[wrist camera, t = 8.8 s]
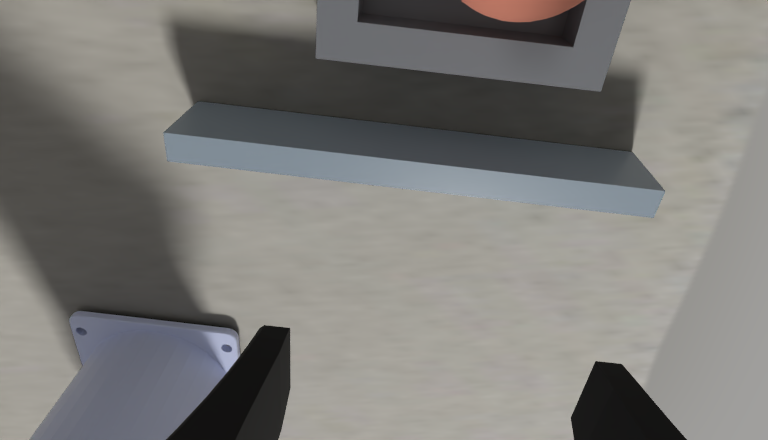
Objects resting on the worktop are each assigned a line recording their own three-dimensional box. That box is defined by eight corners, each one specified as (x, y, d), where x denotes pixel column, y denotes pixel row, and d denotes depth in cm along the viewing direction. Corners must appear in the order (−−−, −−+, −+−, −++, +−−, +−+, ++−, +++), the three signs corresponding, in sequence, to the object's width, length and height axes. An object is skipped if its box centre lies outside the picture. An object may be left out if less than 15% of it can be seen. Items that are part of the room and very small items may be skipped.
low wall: (623, 176, 19) (653, 217, 17) (200, 126, 19) (167, 161, 17) (632, 151, 19) (665, 191, 16) (198, 101, 19) (163, 132, 16)
